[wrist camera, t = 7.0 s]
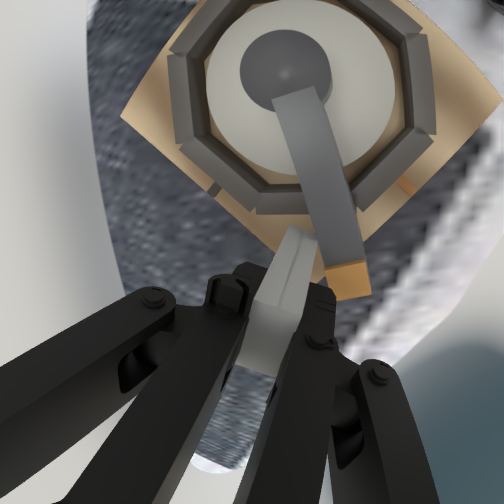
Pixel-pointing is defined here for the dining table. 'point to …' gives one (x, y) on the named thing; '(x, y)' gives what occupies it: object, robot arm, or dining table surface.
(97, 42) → the dining table surface
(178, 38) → the dial board
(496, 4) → the mug
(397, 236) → the dining table surface
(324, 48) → the dial
